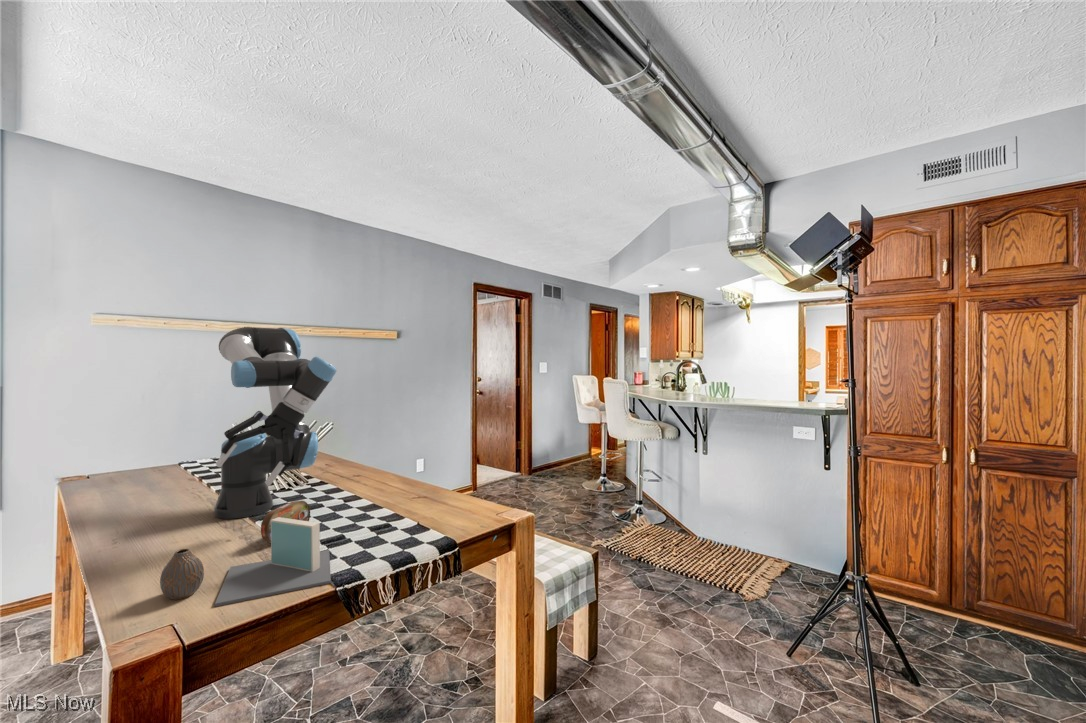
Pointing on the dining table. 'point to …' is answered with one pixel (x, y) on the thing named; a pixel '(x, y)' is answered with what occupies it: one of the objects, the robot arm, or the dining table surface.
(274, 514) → the tin
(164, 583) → the vase
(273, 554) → the tile
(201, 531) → the dining table surface
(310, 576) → the mat
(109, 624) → the dining table surface
